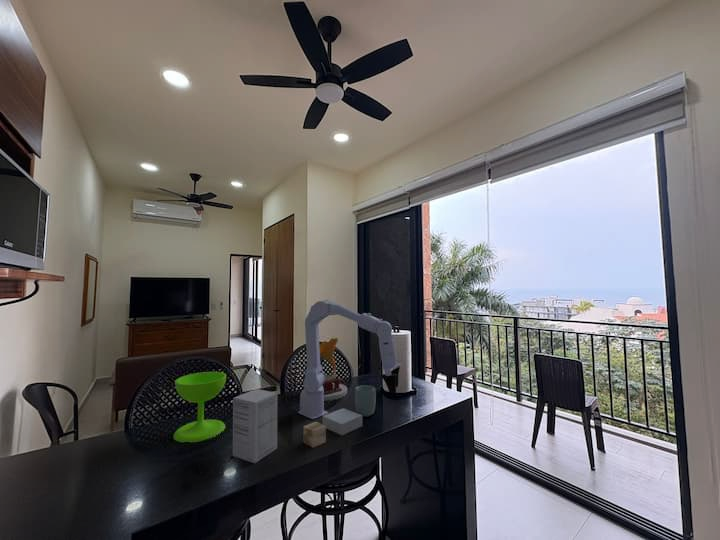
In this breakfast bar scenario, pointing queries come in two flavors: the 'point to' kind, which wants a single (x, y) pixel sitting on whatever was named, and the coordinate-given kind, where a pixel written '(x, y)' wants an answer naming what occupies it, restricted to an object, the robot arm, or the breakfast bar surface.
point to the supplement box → (254, 425)
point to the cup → (365, 400)
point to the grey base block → (342, 421)
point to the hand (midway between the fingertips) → (394, 390)
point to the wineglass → (200, 404)
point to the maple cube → (314, 434)
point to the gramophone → (331, 383)
